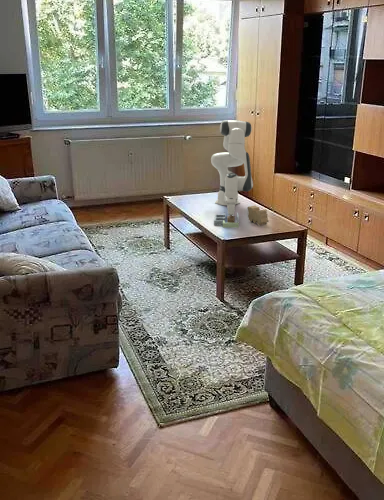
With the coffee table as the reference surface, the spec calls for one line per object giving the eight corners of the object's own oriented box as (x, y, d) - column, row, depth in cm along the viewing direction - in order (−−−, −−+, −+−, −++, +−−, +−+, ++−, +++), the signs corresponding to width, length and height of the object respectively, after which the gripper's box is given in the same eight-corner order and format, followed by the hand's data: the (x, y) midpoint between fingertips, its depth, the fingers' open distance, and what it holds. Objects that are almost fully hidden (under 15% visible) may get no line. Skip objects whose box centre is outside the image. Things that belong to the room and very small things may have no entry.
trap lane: (215, 216, 367) (215, 212, 366) (238, 216, 365) (238, 212, 364) (213, 227, 343) (213, 223, 342) (238, 227, 342) (238, 223, 341)
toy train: (261, 226, 343) (262, 212, 340) (247, 220, 357) (247, 206, 354) (268, 225, 345) (269, 211, 342) (253, 219, 360) (254, 205, 356)
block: (227, 222, 352) (227, 215, 351) (234, 222, 352) (234, 215, 350) (227, 225, 348) (227, 217, 346) (234, 225, 347) (234, 217, 345)
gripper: (226, 194, 358) (226, 213, 362) (226, 201, 338) (226, 222, 343) (235, 194, 357) (235, 213, 362) (236, 201, 338) (235, 222, 343)
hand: (231, 217), depth 352 cm, fingers closed
